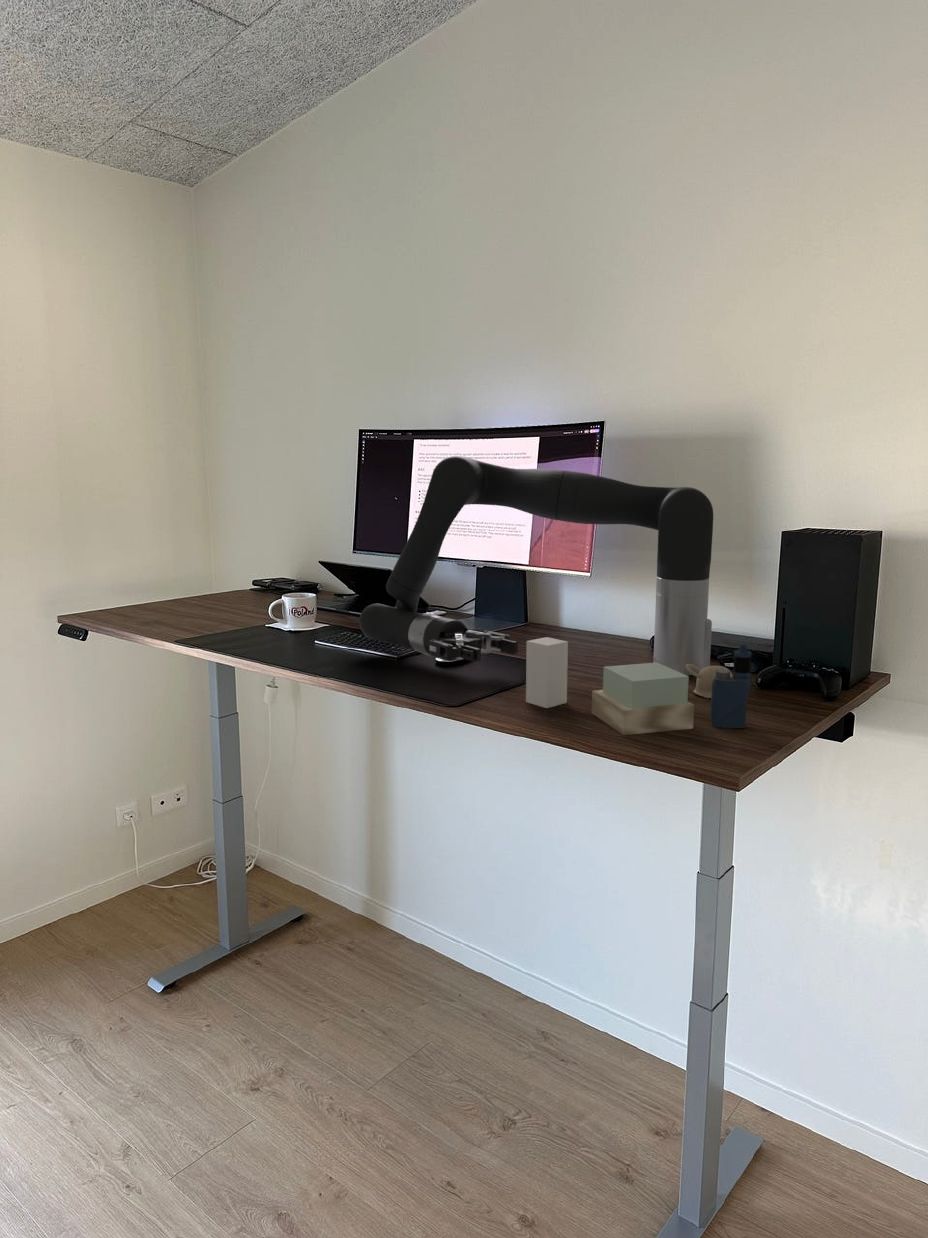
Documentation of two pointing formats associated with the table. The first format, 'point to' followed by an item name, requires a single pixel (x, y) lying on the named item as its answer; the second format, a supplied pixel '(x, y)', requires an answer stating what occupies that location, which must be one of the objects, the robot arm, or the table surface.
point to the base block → (641, 715)
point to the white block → (546, 672)
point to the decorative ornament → (705, 679)
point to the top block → (645, 685)
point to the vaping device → (731, 692)
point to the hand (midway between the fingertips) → (498, 652)
